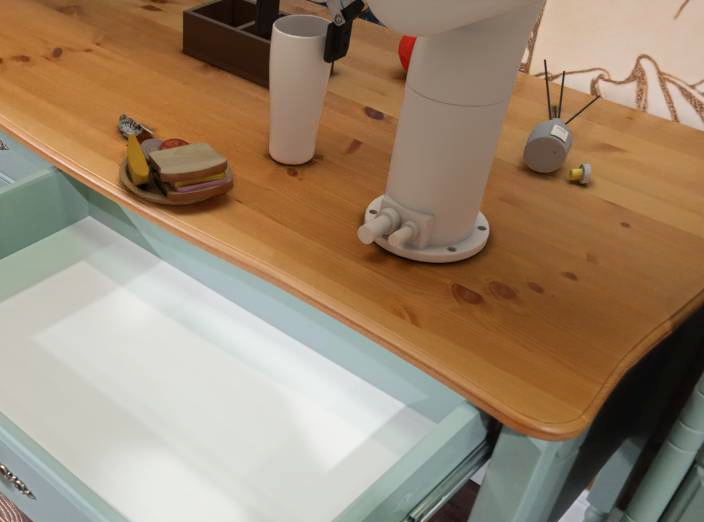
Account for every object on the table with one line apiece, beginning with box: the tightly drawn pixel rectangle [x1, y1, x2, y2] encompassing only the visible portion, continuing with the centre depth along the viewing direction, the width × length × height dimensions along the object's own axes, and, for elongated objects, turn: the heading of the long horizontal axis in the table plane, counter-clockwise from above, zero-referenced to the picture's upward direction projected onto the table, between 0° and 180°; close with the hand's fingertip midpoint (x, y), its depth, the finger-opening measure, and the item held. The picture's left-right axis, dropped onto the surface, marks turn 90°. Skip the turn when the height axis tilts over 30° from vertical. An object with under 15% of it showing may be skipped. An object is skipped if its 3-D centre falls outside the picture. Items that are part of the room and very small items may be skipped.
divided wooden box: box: [182, 0, 335, 89], centre depth 118 cm, size 10×19×6 cm, turn 44°
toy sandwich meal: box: [118, 134, 234, 206], centre depth 94 cm, size 12×14×5 cm
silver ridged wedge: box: [118, 113, 156, 138], centre depth 104 cm, size 6×2×3 cm
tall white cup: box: [268, 14, 333, 166], centre depth 95 cm, size 7×7×15 cm
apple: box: [397, 35, 417, 74], centre depth 114 cm, size 8×8×7 cm
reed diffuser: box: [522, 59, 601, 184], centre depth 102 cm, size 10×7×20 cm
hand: (299, 44), depth 91 cm, fingers open, 9 cm apart
